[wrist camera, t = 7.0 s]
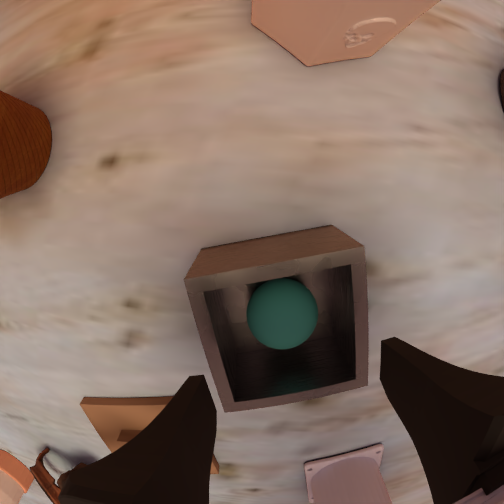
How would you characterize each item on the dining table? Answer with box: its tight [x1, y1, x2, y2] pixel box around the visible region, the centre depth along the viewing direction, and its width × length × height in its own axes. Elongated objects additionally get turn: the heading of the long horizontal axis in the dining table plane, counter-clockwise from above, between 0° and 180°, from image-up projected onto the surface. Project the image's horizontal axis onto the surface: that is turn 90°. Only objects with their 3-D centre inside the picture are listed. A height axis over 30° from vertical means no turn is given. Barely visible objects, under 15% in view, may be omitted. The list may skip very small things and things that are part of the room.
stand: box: [80, 396, 219, 474], centre depth 22 cm, size 10×10×2 cm
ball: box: [246, 278, 318, 349], centre depth 17 cm, size 4×4×4 cm
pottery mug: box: [30, 448, 88, 504], centre depth 22 cm, size 12×10×8 cm
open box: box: [184, 225, 368, 412], centre depth 17 cm, size 8×8×6 cm
